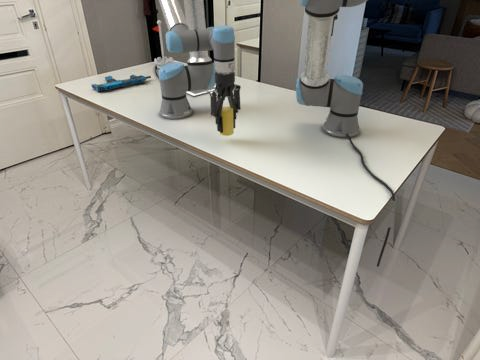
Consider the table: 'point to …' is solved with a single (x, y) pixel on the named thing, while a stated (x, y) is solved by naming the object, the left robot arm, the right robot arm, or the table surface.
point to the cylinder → (227, 121)
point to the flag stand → (164, 60)
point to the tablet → (200, 91)
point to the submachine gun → (119, 82)
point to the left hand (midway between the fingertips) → (226, 129)
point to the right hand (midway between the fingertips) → (323, 33)
